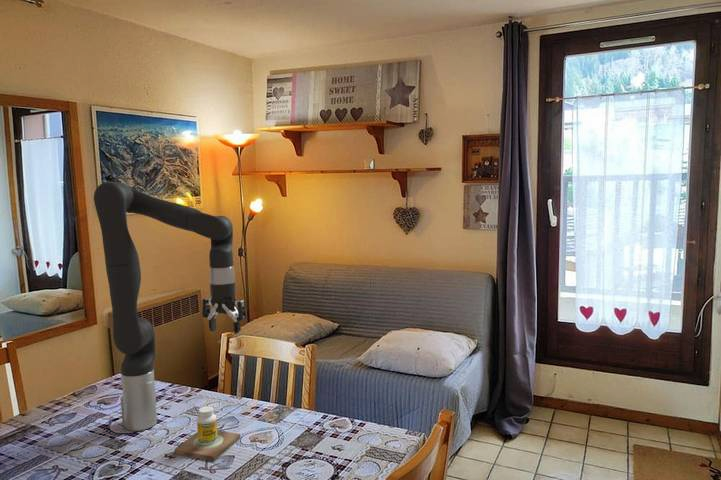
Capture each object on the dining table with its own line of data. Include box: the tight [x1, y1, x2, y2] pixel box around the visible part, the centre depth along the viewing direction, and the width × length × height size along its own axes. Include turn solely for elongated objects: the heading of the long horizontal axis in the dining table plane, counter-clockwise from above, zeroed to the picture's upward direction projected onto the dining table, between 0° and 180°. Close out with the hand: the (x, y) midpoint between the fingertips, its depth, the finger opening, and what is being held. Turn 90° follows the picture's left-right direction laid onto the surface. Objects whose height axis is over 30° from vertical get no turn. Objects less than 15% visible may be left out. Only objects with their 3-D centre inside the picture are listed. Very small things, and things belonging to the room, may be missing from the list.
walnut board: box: [173, 429, 241, 462], centre depth 150 cm, size 13×13×1 cm
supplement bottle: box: [196, 405, 218, 445], centre depth 150 cm, size 5×5×10 cm
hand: (225, 332), depth 164 cm, fingers open, 8 cm apart
